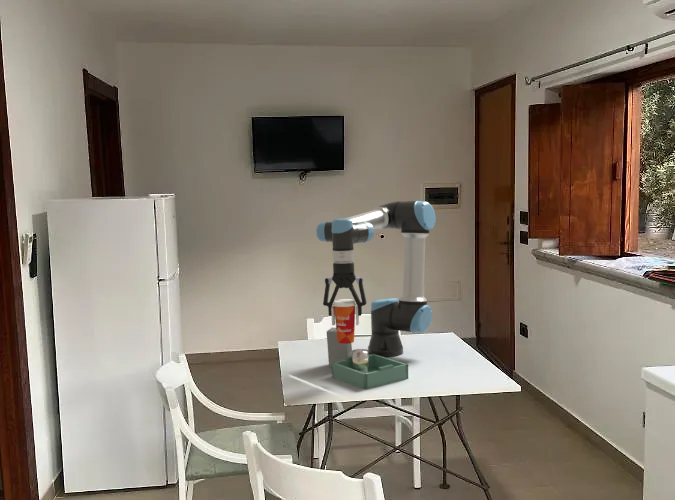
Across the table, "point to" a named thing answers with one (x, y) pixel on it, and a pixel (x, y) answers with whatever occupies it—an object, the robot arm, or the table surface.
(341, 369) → the tote
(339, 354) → the skincare box
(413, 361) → the table surface
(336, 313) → the coffee cup
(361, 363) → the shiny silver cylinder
